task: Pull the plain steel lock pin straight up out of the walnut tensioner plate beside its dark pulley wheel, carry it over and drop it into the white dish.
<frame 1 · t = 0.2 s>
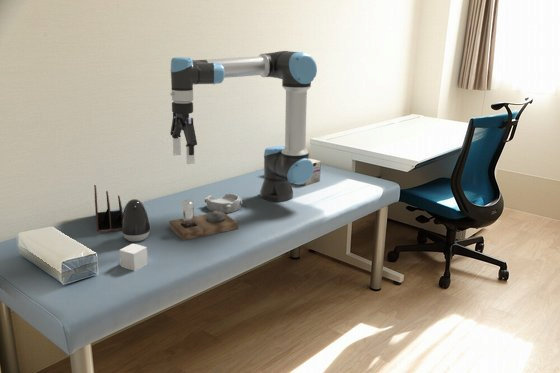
hand: (183, 159, 193), 27 cm above the table, tool pointing down, fingers open, 13 cm apart
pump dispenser: (136, 239, 189), on the table
dish: (224, 209, 222), on the table
white cube: (134, 265, 169), on the table
tensioner plate: (203, 229, 199), on the table
surgical sutures box: (294, 178, 266), on the table
lock pin: (188, 230, 196), resting on tensioner plate
letter holder: (109, 223, 204), on the table
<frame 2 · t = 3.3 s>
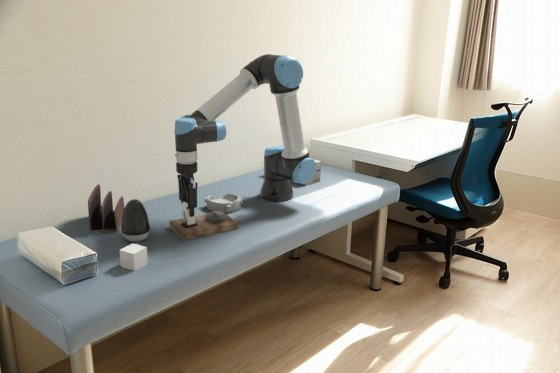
hand: (188, 221, 195), 4 cm above the table, tool pointing down, fingers closed on lock pin, 4 cm apart
lock pin: (189, 230, 196), point 1 cm above the table, touching gripper
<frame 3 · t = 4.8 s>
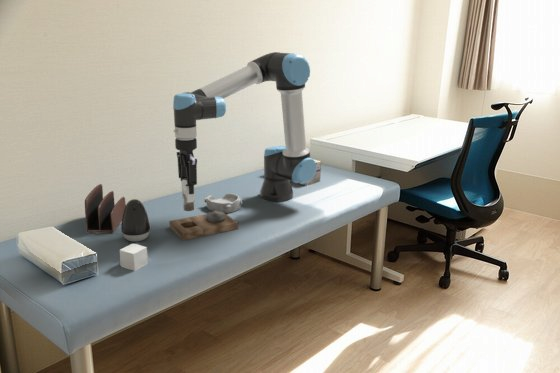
hand: (188, 199, 192), 13 cm above the table, tool pointing down, fingers closed on lock pin, 4 cm apart
lock pin: (188, 209, 193), point 9 cm above the table, touching gripper
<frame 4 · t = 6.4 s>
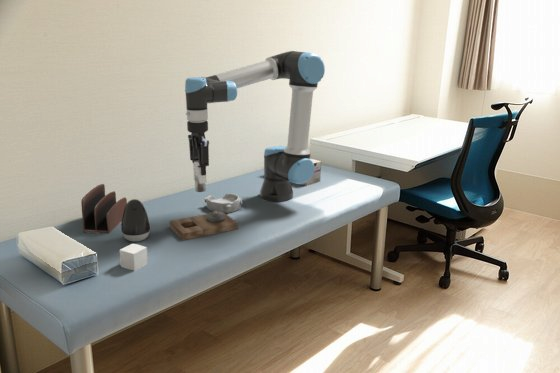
hand: (200, 181, 198), 18 cm above the table, tool pointing down, fingers closed on lock pin, 4 cm apart
lock pin: (200, 190, 199), point 14 cm above the table, touching gripper
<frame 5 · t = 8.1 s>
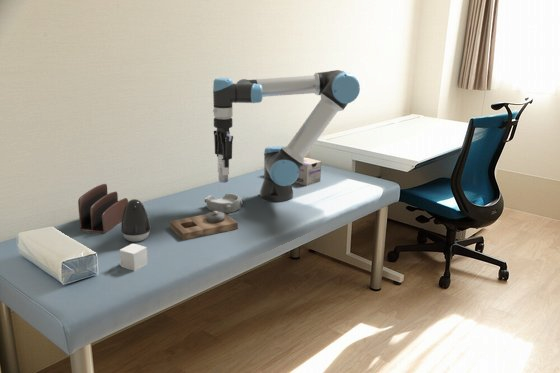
hand: (223, 173, 217), 16 cm above the table, tool pointing down, fingers closed on lock pin, 3 cm apart
lock pin: (223, 181, 218), point 12 cm above the table, touching gripper
when the fingers open (10 cm above the table, at t = 9.6 s): lock pin drops 2 cm, resting on dish.
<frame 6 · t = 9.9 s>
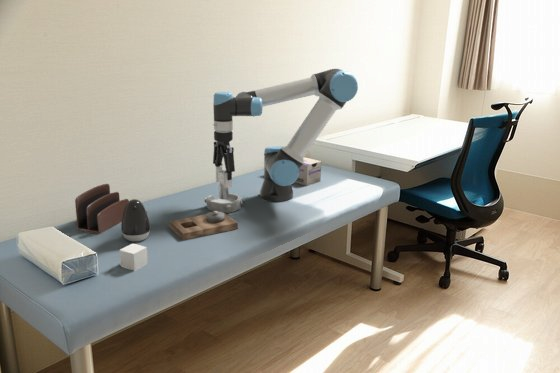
hand: (223, 184, 218), 11 cm above the table, tool pointing down, fingers open, 8 cm apart
dish: (224, 209, 222), on the table, touching lock pin
lock pin: (223, 197, 220), point 5 cm above the table, touching dish
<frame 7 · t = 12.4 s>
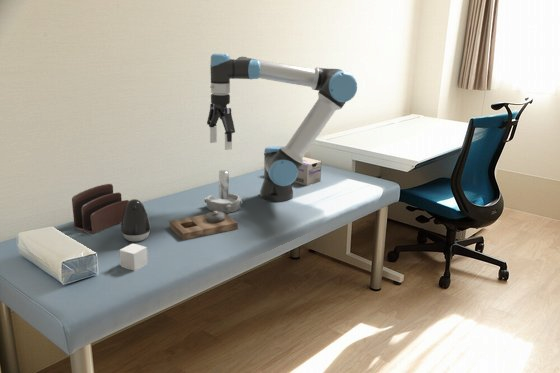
hand: (220, 145, 214), 27 cm above the table, tool pointing down, fingers open, 13 cm apart
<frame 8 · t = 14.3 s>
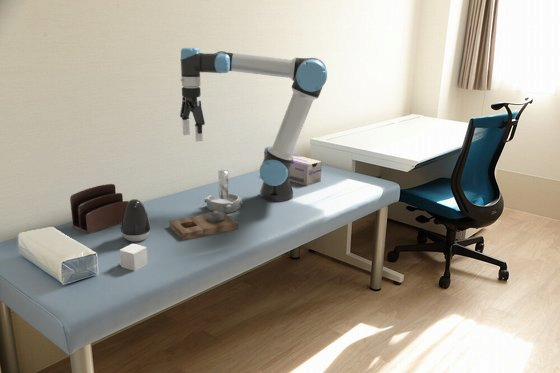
hand: (192, 137, 219), 29 cm above the table, tool pointing down, fingers open, 13 cm apart
at the end: lock pin 0.2 cm from the dish (horizontally); lock pin moved 28.9 cm from its start; the gripper is holding nothing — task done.
